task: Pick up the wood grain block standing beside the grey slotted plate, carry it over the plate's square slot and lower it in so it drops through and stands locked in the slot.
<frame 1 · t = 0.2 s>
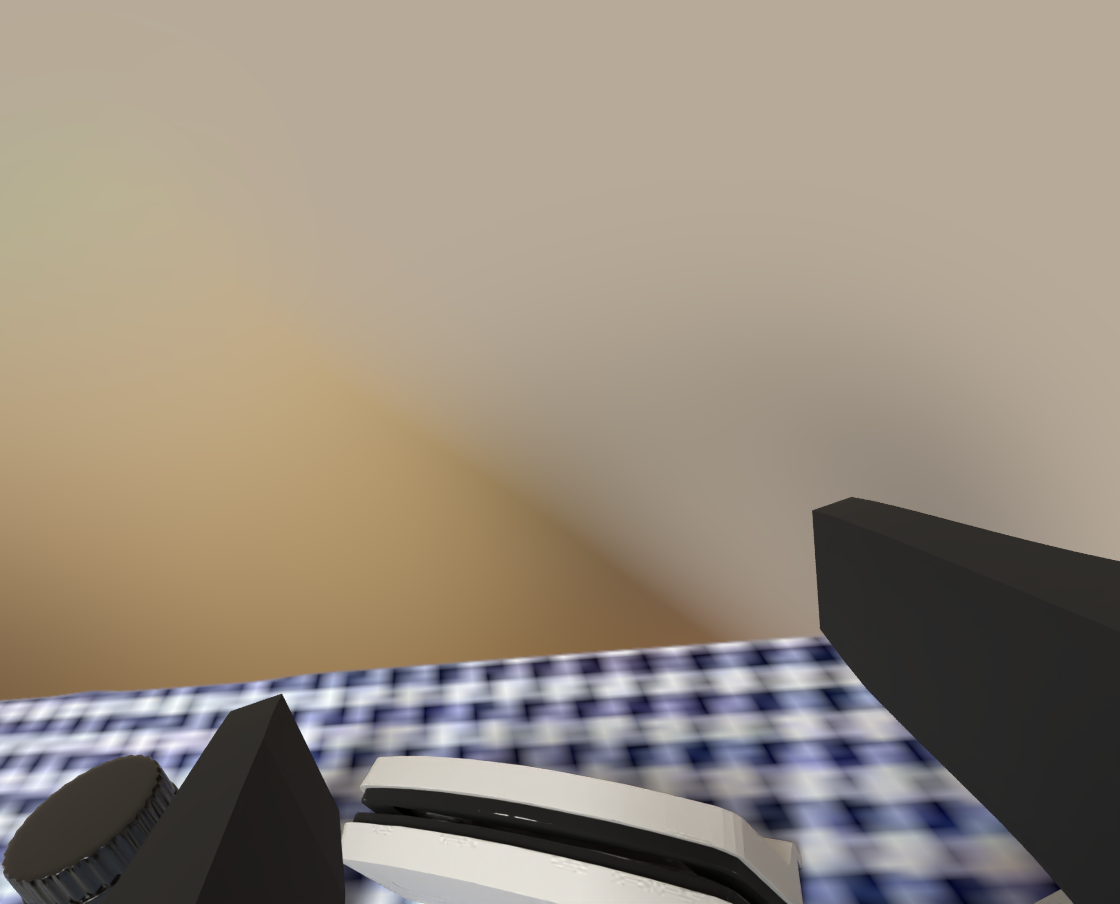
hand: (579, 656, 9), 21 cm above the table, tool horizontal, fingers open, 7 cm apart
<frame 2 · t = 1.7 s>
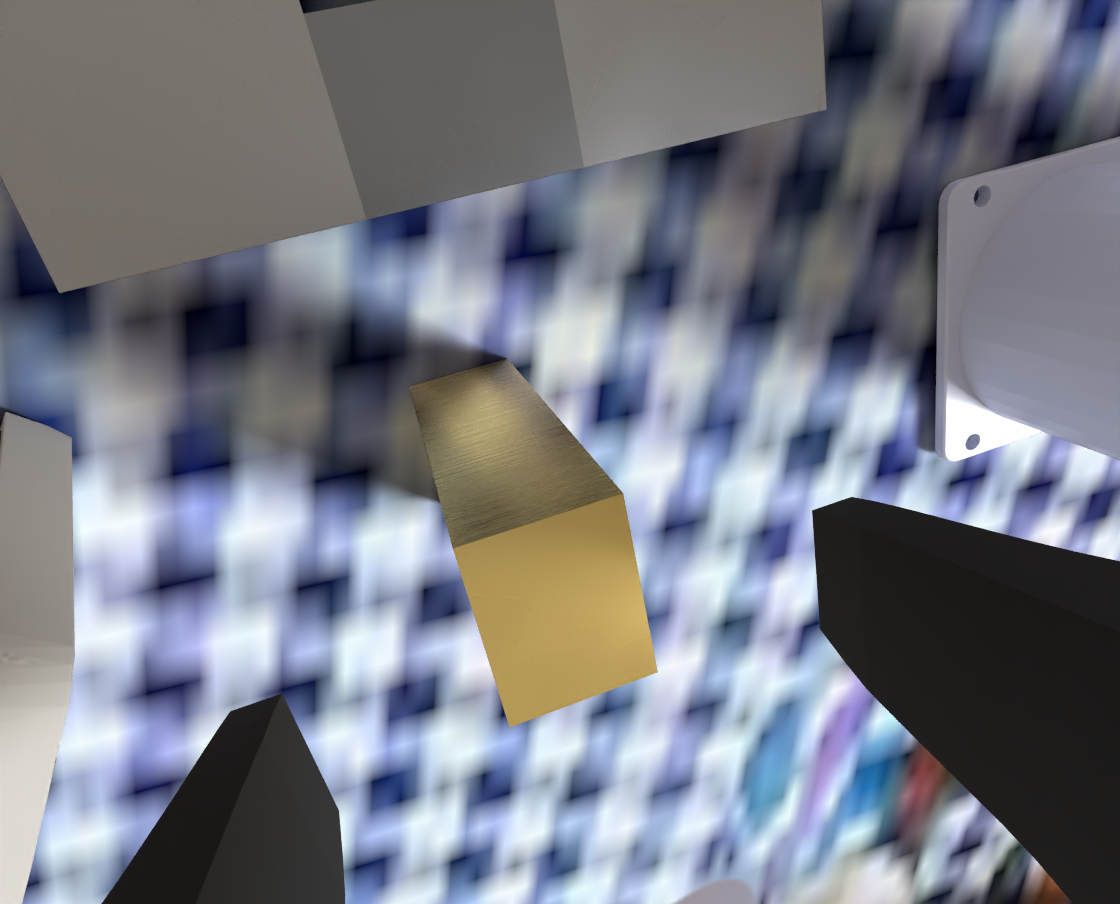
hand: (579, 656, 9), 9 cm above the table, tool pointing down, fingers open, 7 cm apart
wood grain block: (475, 433, 17), on the table
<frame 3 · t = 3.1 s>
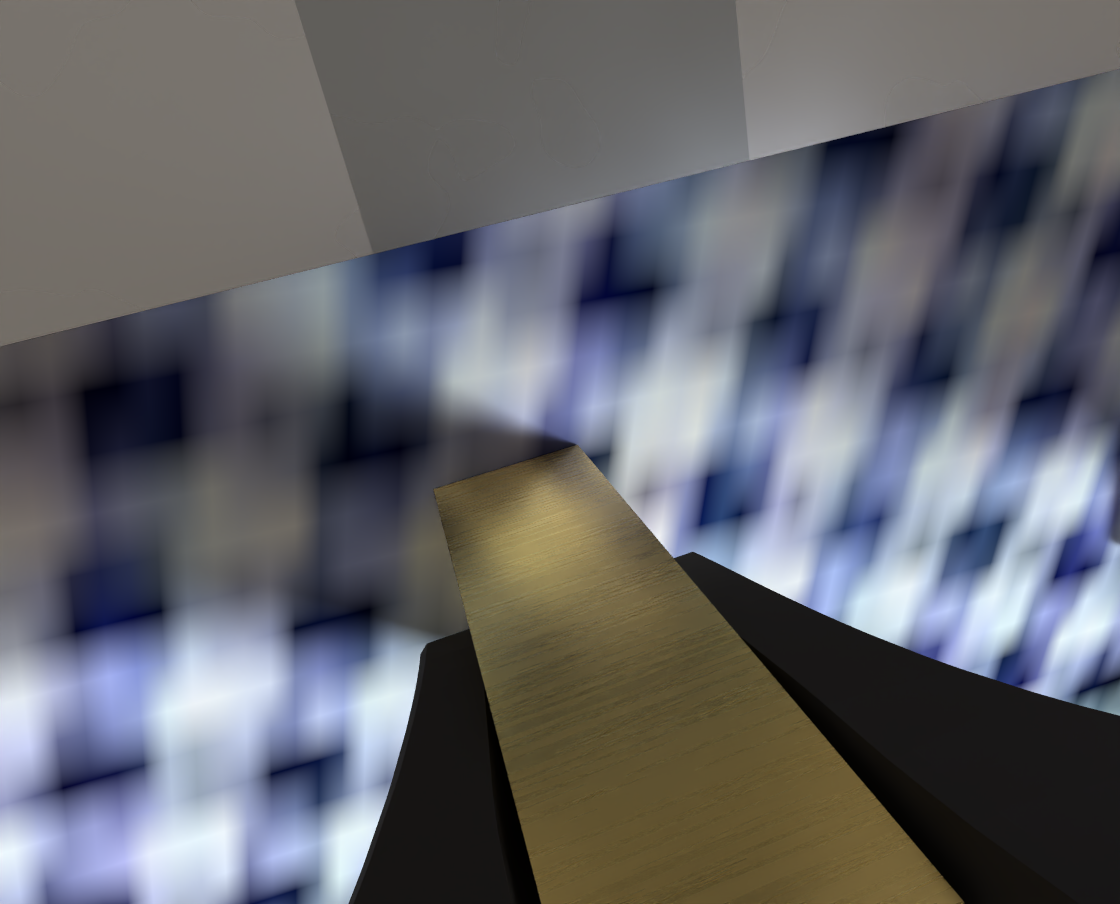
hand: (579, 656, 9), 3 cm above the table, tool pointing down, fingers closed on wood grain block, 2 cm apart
wood grain block: (528, 550, 12), on the table, touching gripper
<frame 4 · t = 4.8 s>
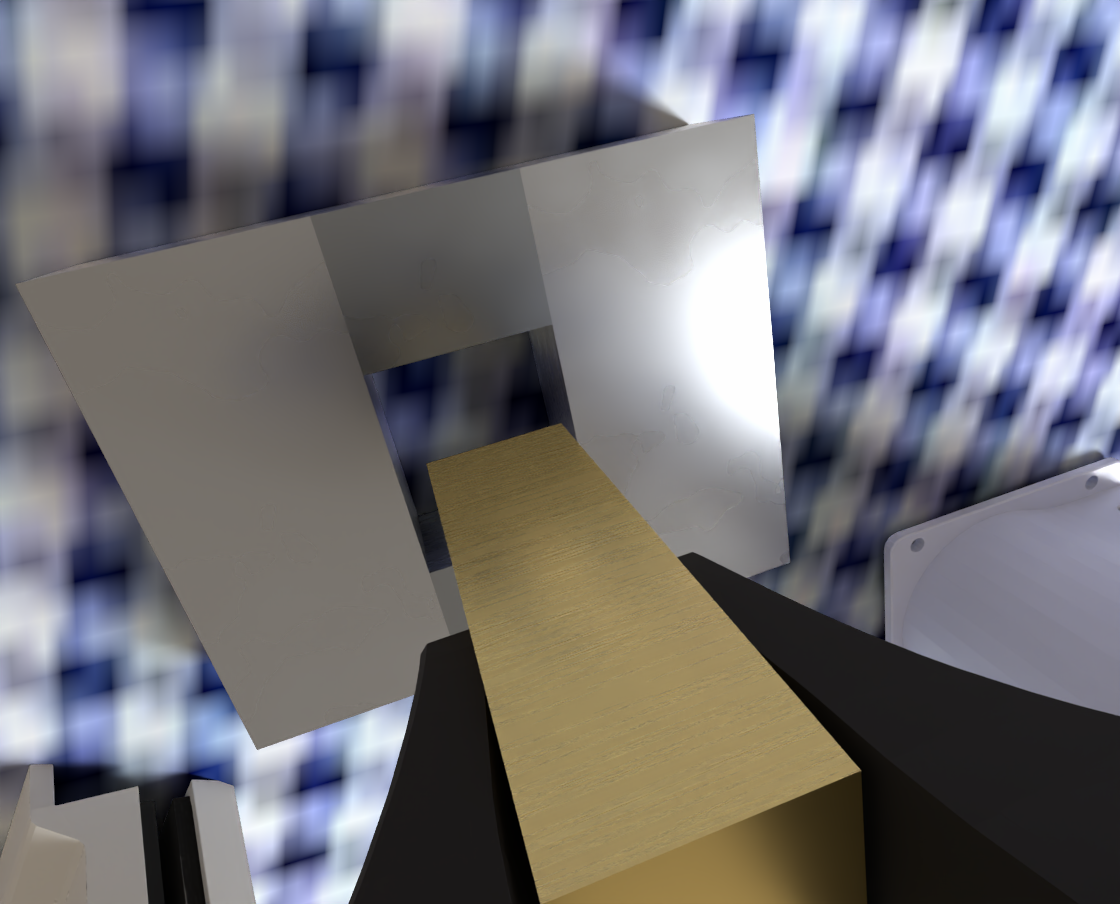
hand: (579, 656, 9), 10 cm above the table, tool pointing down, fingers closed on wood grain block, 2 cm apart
wood grain block: (516, 522, 13), point 6 cm above the table, touching gripper
grey slotted plate: (468, 412, 18), on the table
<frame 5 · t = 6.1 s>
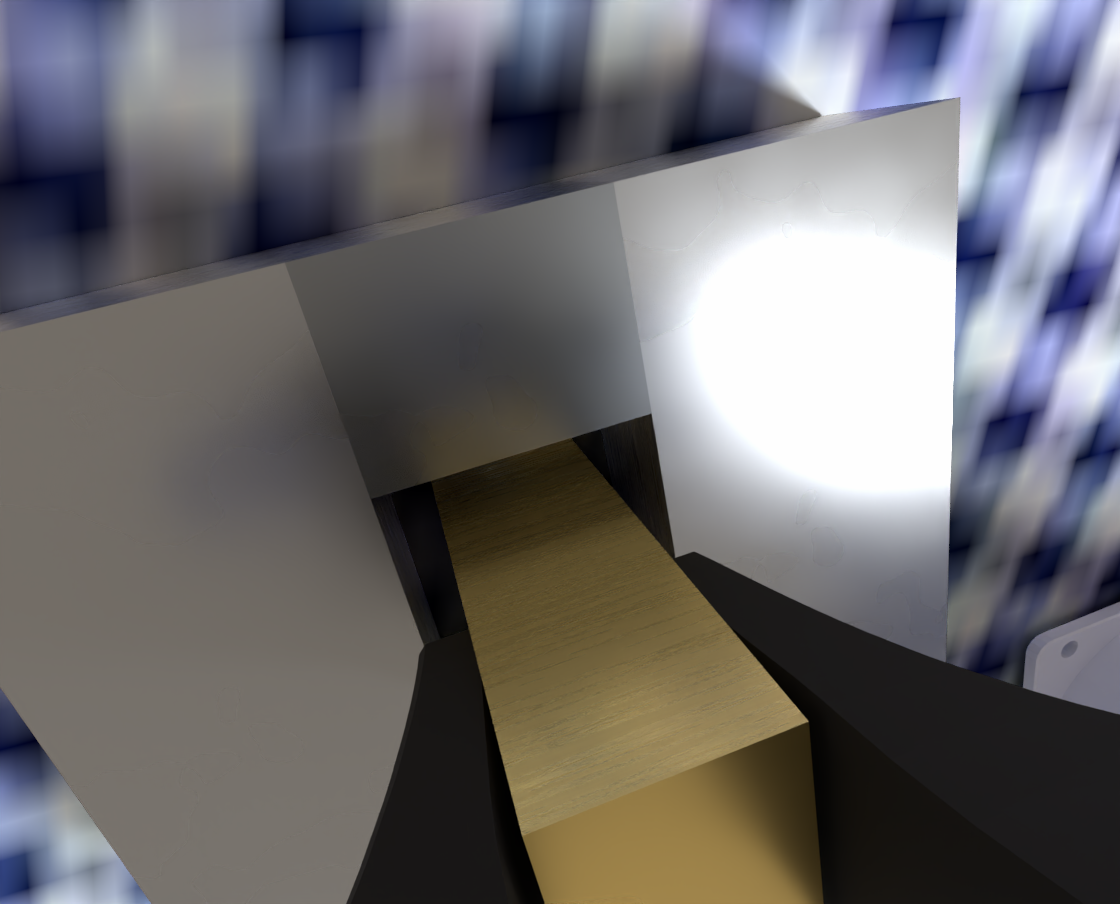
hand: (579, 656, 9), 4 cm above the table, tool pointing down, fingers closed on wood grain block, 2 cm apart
wood grain block: (510, 511, 13), resting in grey slotted plate, touching gripper
grey slotted plate: (512, 511, 13), on the table
when the fingers open (4 cm above the table, at t = 6.5 s): wood grain block stays where it is, resting in grey slotted plate.
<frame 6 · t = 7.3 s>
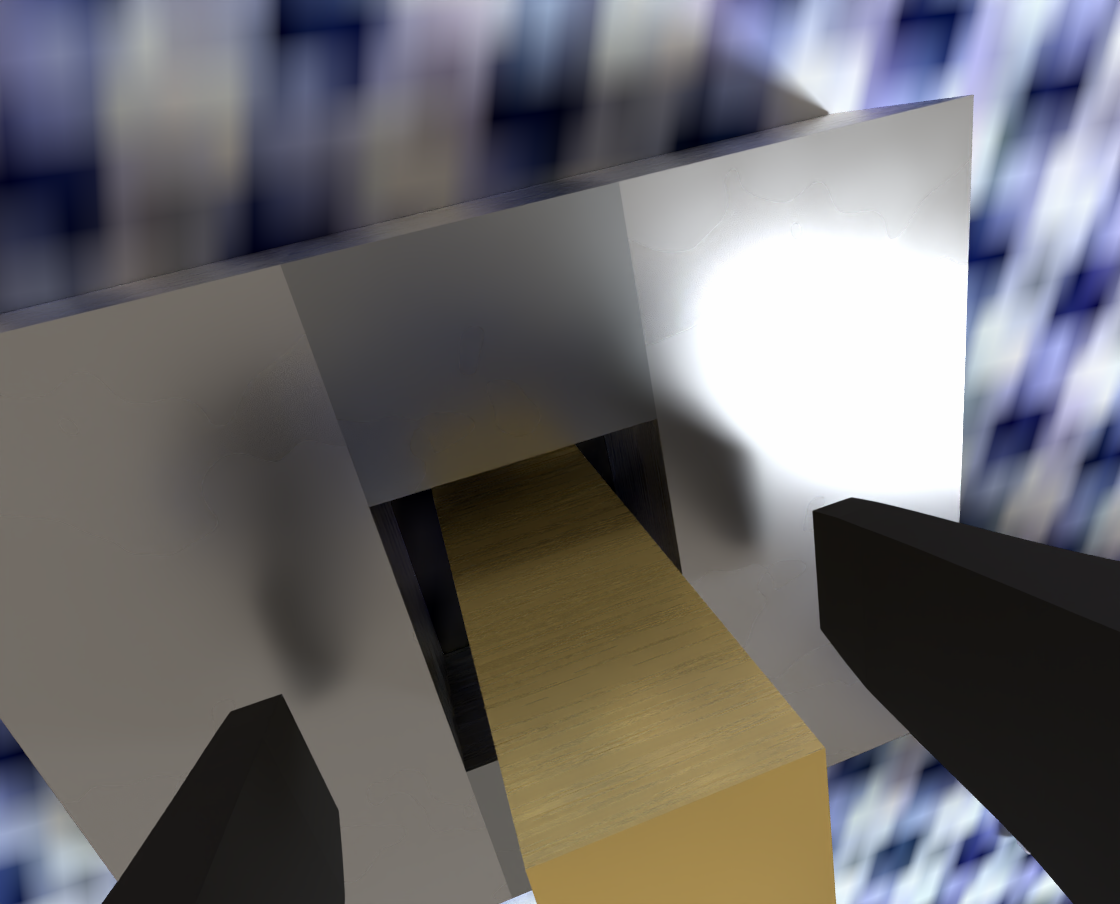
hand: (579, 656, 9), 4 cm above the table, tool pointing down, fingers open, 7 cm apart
wood grain block: (511, 517, 13), resting in grey slotted plate
grey slotted plate: (513, 517, 13), on the table
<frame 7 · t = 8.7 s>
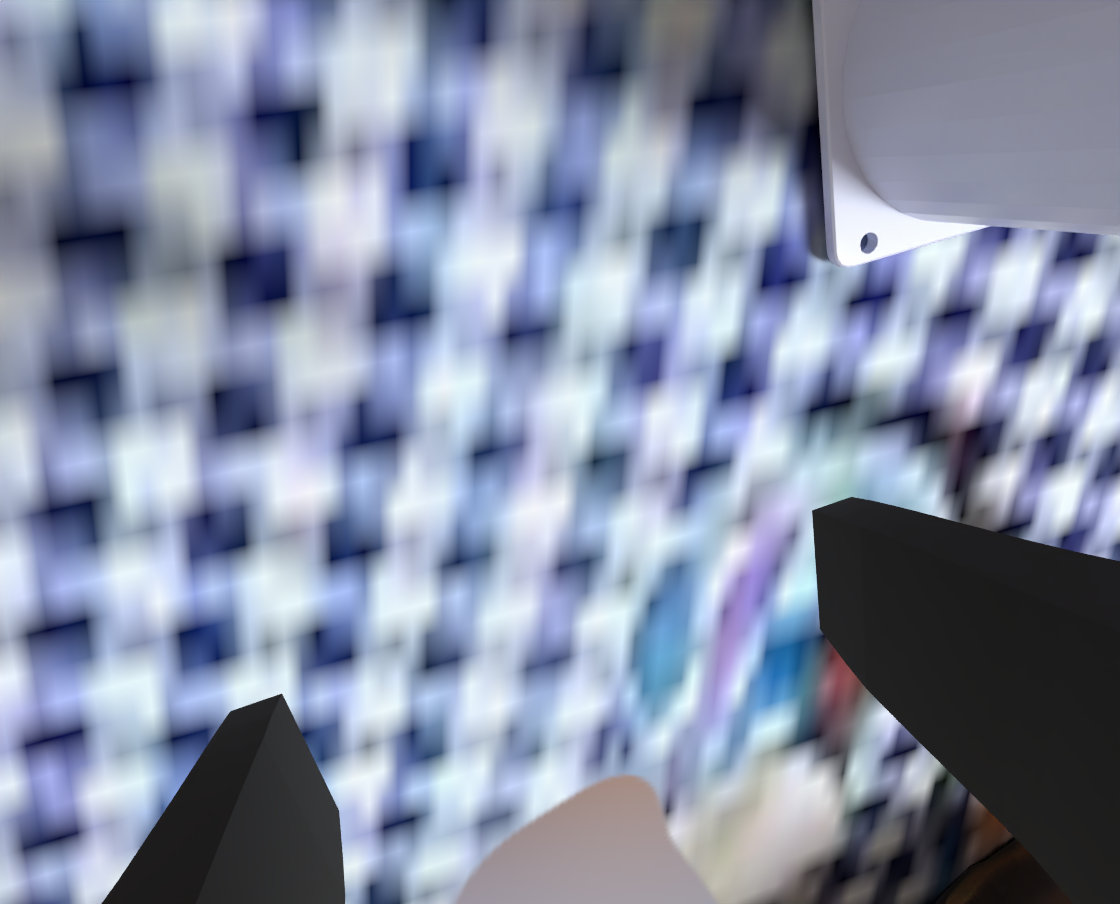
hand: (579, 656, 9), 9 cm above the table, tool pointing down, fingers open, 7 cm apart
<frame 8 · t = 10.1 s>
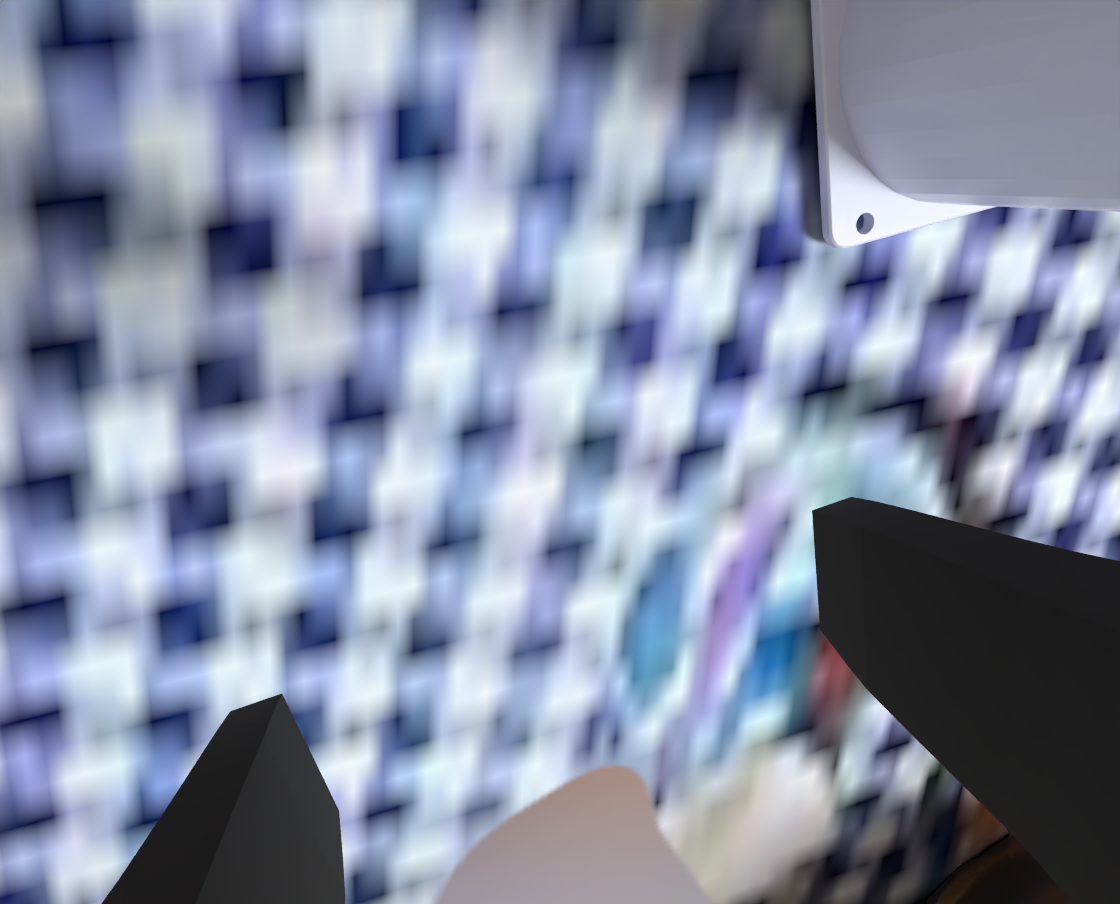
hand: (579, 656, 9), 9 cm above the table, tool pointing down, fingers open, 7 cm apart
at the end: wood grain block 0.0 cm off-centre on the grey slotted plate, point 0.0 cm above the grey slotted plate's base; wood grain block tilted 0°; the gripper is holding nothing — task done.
